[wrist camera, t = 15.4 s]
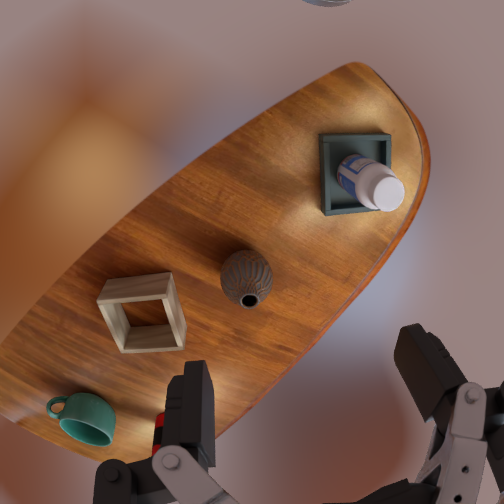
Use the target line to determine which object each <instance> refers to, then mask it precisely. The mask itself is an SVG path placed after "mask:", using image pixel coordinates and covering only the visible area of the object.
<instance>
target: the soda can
mask: <svg viewBox="0 0 504 504" xmlns="http://www.w3.org/2000/svg"><path fill="white" fill-rule="evenodd" d="M163 422H164V413H163V414H160V415H158V416H157V417H156V422H155V430H154V439H153V448H152V456H153V455H154V454H155V453H156V452H157V451H158V449H159V447H160V445H161V441H162V431H163Z"/></svg>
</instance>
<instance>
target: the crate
mask: <svg viewBox="0 0 504 504" xmlns="http://www.w3.org/2000/svg"><path fill="white" fill-rule="evenodd" d="M156 299H162V302H163V305H164V308H165V311H166V314H167V317H168V320H169V323H170V324H165V325H153V326H140V327H131V326H130V324H129V322H128V319H127V317H126V315H125V312H124V310H123V307H122V305H121V303H125V302H136V301H146V300H156ZM96 301H97V304H98V306H99V308H100V310H101V312H102V315H103V317H104V319H105V321H106V323H107V325H108V328H109V330H110V332H111V334H112V336H113V338H114V340H115V342H116V344H117V346H118V348H119V350H120V352H121V353H142V352H160V351H175V350H184V347H185V338H186V330H187V325H186V321H185V318H184V315H183V311H182V308H181V305H180V301H179V298H178V294H177V291H176V287H175V284H174V280H173V277H172V273H171V272H166V273H158V274H150V275H141V276H133V277H125V278H116V279H108V280H107V281H106V283H105V285H104V287H103V289H102V291H101V292H100V294H99V296H98V298H97V300H96Z"/></svg>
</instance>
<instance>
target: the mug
mask: <svg viewBox="0 0 504 504" xmlns="http://www.w3.org/2000/svg"><path fill="white" fill-rule="evenodd" d="M59 402H64V403H65V406H64V408H63V410H61V411H60V412H59V413H54V412H53V411H52V410H51V406H52V405H53V404H55V403H59ZM46 408H47V413H48V414H49V416H51V417H52V418H56V419H60V421H59V423H60V426H61V428H62V429H63V430H64V431H65V432H66V433H67V434H69V435H70V436H72V437H73V438H75V439H77V440H79V441H81V442H84V443H86V444H90V445H94V446H108V445H110V444H111V443H112V440H113V435H114V430H115V423H116V416H115V413H114V410H113V409H112V407H111V406H110V405H109V404H108V403H107V402H106V401H104V400H103V399H102V398H100V397H99V396H96V395H94V394H90V393H75V394H73V395H71V396H70V397H69V396H59V397H55V398H53V399H51V400H50V401H49V402H48V403H47V407H46Z"/></svg>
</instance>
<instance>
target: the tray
mask: <svg viewBox="0 0 504 504" xmlns="http://www.w3.org/2000/svg"><path fill="white" fill-rule="evenodd" d="M319 152H320V178H321V211H322V213H323V214H324V215H325V216H331V215H340V214H350V213H359V212H369V211H379V210H380V209H370V208H368V207H366V206H364V205H363V204H362V203H360V202H359V201H358V200H356V199H355V198H354V197H353V196H351V195H350V194H349V193H348V192H346V191H345V190H344V189H343V188H342V187H341V186H340V184H339V182H338V179H337V171H338V167H339V165H340V163H341V162H342V161H343V160H344V159H345V158H346V157H348V156H350V155H354V154H358V155H362V156H365V157H367V158H369V159H372V160H374V161H376V162H379V163H381V164H383V165H385V166H387V167H388V168H390V169H391V135H390V134H387V133H332V134H319Z"/></svg>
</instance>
